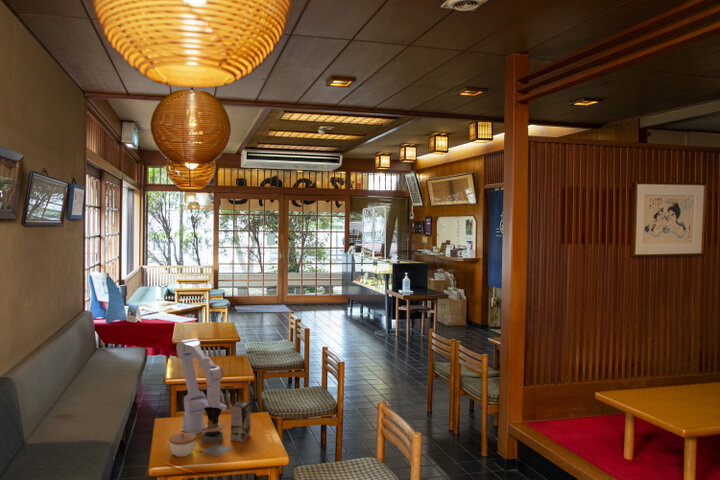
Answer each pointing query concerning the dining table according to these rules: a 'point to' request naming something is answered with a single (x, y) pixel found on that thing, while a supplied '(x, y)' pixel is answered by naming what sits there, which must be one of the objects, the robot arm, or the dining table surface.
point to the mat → (216, 450)
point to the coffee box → (241, 421)
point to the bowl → (212, 437)
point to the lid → (212, 426)
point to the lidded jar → (182, 444)
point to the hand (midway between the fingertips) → (213, 422)
